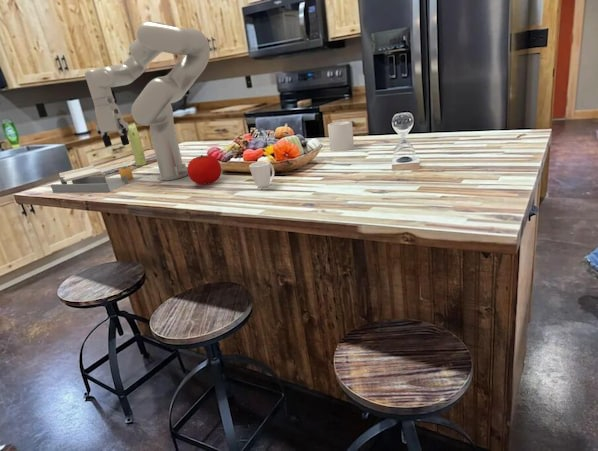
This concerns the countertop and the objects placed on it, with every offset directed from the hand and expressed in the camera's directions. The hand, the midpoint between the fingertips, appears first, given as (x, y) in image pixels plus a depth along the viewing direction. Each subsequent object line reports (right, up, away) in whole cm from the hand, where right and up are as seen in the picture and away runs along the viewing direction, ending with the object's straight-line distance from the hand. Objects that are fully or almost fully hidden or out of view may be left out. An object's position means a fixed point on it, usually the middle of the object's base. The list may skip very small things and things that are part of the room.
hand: (117, 145), depth 172 cm
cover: (-18, -15, +7) cm, 24 cm away
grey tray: (-9, -16, +2) cm, 18 cm away
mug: (+93, +1, +10) cm, 93 cm away
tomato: (+41, -17, -17) cm, 47 cm away
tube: (-2, -3, +32) cm, 33 cm away
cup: (+63, -20, -31) cm, 73 cm away
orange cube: (+2, -13, +5) cm, 14 cm away
